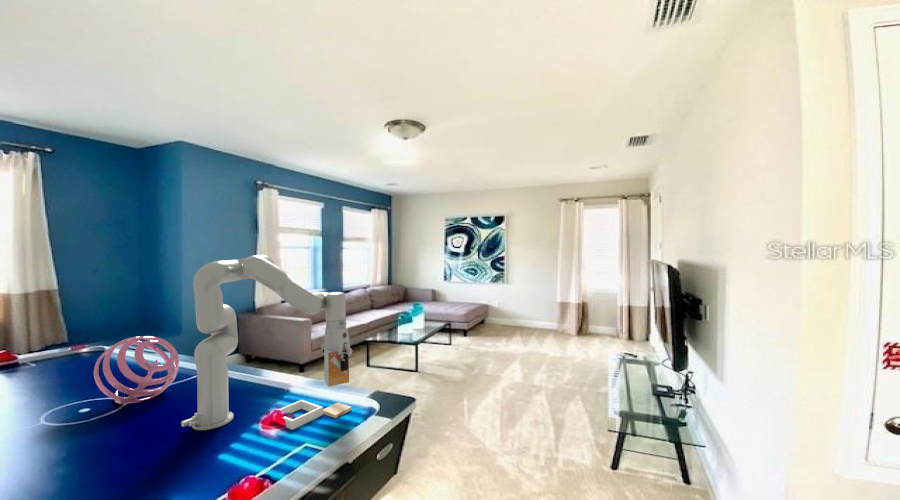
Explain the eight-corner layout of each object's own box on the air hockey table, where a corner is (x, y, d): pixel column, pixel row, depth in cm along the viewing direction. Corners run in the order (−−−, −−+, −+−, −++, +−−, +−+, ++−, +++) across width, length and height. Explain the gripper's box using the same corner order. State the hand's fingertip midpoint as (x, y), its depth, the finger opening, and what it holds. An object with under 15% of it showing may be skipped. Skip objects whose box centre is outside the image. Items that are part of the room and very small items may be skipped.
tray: (292, 429, 122) (292, 421, 122) (270, 420, 129) (270, 412, 129) (323, 414, 133) (322, 406, 133) (301, 407, 140) (301, 399, 140)
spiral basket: (74, 357, 146) (115, 322, 141) (150, 354, 171) (187, 325, 166) (76, 422, 134) (121, 387, 130) (158, 410, 160) (197, 380, 155)
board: (335, 418, 130) (335, 415, 130) (321, 413, 134) (321, 410, 134) (351, 409, 137) (351, 406, 137) (338, 405, 141) (337, 402, 141)
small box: (328, 387, 131) (328, 352, 131) (324, 382, 136) (323, 349, 136) (349, 382, 135) (349, 349, 135) (344, 377, 141) (344, 345, 141)
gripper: (358, 324, 134) (359, 369, 134) (329, 320, 144) (329, 362, 144) (343, 328, 128) (344, 375, 128) (313, 323, 137) (314, 367, 137)
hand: (336, 368), depth 136 cm, fingers closed on small box, 8 cm apart
